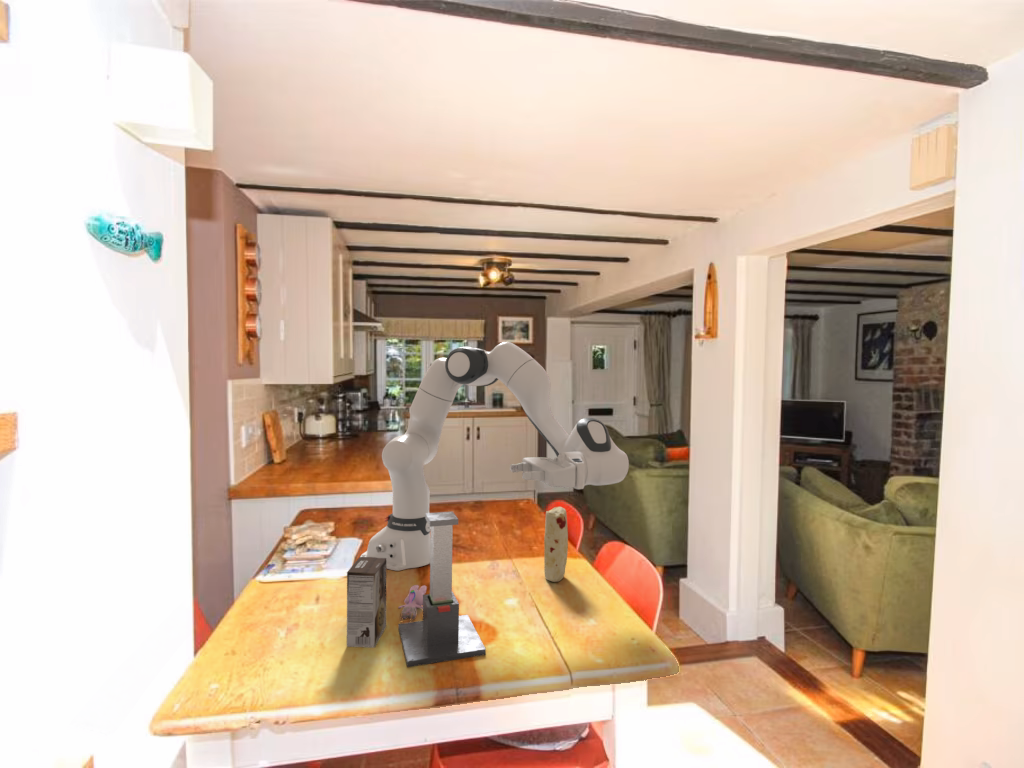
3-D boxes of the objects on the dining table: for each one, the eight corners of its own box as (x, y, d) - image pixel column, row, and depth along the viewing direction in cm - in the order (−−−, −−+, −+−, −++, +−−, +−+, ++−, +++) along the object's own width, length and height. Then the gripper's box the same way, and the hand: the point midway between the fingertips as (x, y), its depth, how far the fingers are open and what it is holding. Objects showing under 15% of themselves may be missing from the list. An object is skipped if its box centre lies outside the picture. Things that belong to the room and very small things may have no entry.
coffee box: (358, 626, 121) (359, 556, 121) (387, 627, 121) (387, 556, 121) (345, 647, 112) (345, 571, 112) (375, 648, 112) (376, 572, 111)
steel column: (428, 621, 111) (430, 520, 111) (424, 609, 117) (425, 513, 116) (457, 617, 113) (458, 518, 112) (451, 605, 119) (452, 511, 118)
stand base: (407, 667, 105) (407, 621, 105) (398, 629, 120) (398, 588, 120) (485, 654, 110) (486, 610, 110) (467, 619, 125) (468, 580, 125)
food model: (565, 586, 146) (567, 513, 145) (541, 584, 147) (542, 511, 146) (568, 572, 155) (569, 504, 155) (545, 570, 156) (546, 503, 156)
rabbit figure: (419, 629, 123) (433, 592, 138) (419, 606, 122) (432, 571, 137) (393, 628, 124) (409, 591, 138) (392, 605, 122) (408, 570, 137)
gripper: (553, 450, 144) (504, 452, 140) (586, 463, 124) (531, 466, 120) (552, 473, 144) (503, 476, 140) (586, 490, 125) (530, 494, 120)
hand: (516, 471), depth 130 cm, fingers open, 8 cm apart
